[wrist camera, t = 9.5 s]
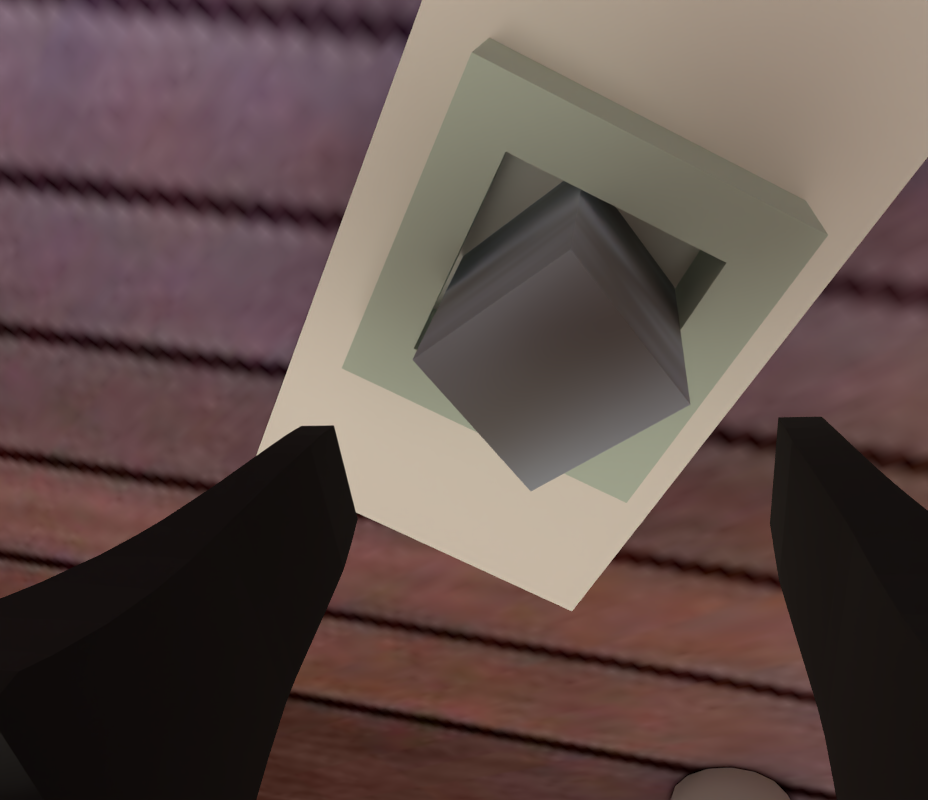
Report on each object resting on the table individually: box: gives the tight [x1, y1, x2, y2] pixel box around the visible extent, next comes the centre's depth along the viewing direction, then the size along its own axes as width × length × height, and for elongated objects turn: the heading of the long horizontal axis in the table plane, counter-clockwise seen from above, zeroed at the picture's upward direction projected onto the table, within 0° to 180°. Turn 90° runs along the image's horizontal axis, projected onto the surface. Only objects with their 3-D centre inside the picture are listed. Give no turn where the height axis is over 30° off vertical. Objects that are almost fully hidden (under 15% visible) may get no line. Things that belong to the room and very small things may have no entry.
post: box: [413, 181, 690, 491], centre depth 18 cm, size 4×4×6 cm
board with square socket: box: [256, 0, 928, 611], centre depth 20 cm, size 12×22×4 cm, turn 156°
